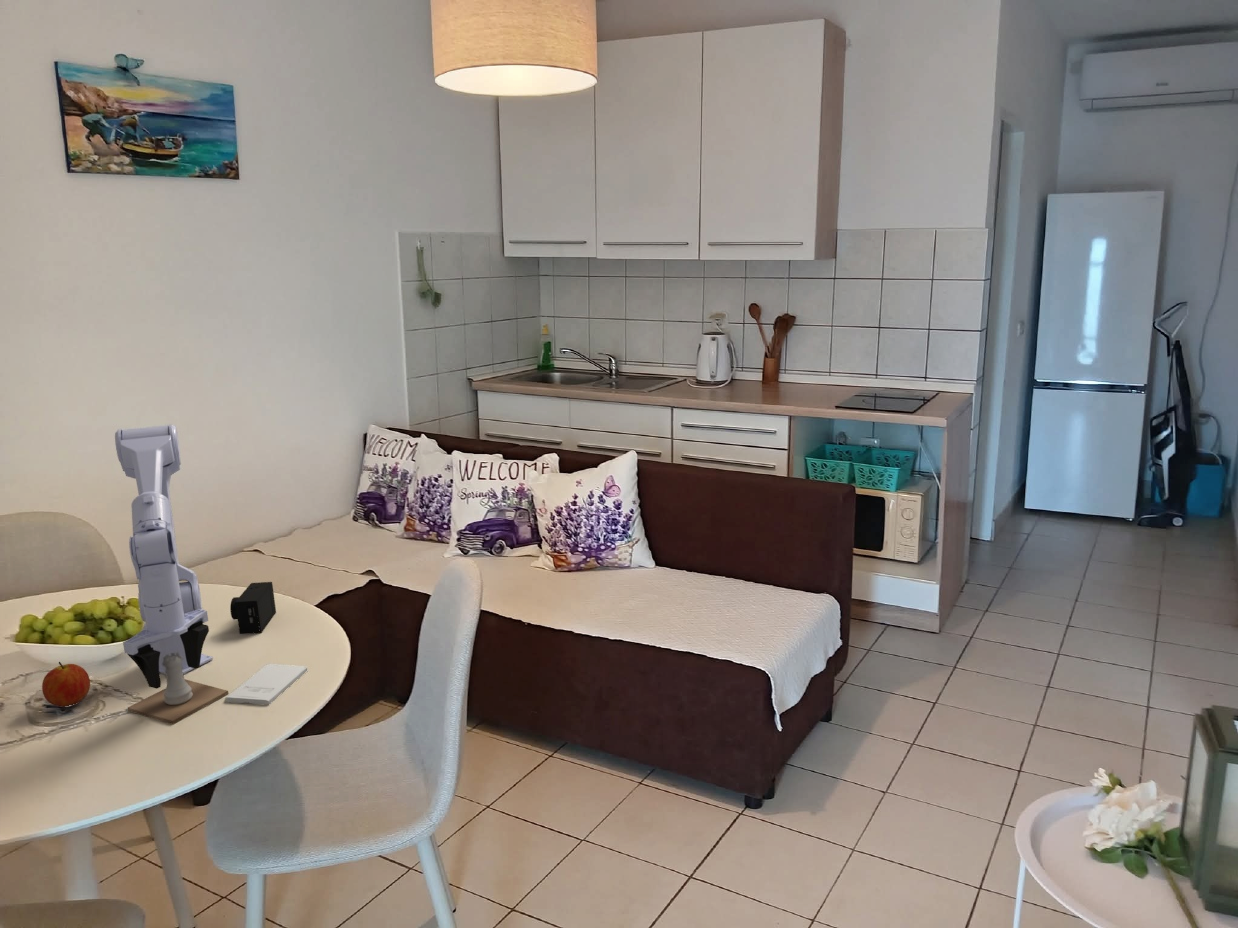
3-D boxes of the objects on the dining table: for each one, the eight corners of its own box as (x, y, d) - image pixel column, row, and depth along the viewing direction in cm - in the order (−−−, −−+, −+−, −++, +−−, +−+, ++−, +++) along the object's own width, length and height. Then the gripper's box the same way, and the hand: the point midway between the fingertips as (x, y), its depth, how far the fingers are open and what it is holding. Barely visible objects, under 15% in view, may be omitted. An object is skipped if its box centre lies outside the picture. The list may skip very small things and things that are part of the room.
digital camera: (249, 614, 195) (245, 582, 193) (276, 612, 195) (272, 580, 193) (233, 635, 185) (228, 601, 183) (261, 633, 185) (256, 600, 183)
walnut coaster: (128, 710, 156) (127, 707, 156) (184, 681, 166) (183, 678, 165) (173, 724, 151) (172, 720, 151) (228, 693, 161) (228, 690, 160)
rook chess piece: (169, 694, 160) (162, 651, 158) (197, 692, 160) (190, 648, 158) (160, 707, 156) (152, 662, 154) (188, 704, 156) (181, 660, 154)
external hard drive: (308, 674, 168) (269, 708, 156) (266, 671, 170) (225, 704, 158) (307, 665, 168) (268, 699, 156) (265, 663, 170) (224, 696, 158)
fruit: (89, 690, 164) (81, 648, 162) (97, 704, 158) (88, 661, 157) (43, 703, 160) (34, 660, 158) (49, 719, 154) (40, 674, 152)
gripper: (139, 621, 146) (152, 700, 149) (215, 588, 158) (226, 662, 162) (109, 614, 149) (123, 692, 152) (187, 583, 161) (198, 655, 165)
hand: (174, 676), depth 157 cm, fingers open, 7 cm apart
